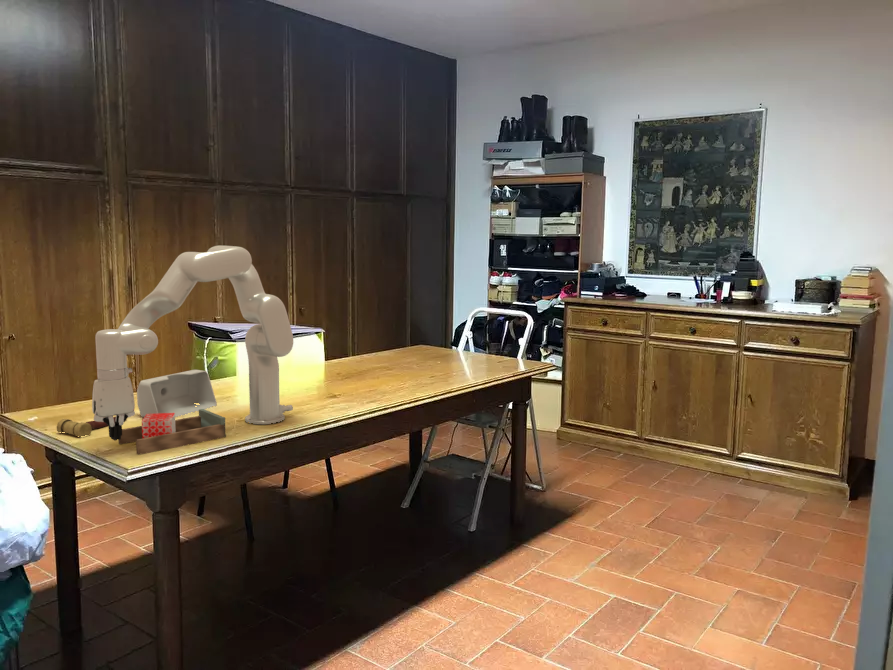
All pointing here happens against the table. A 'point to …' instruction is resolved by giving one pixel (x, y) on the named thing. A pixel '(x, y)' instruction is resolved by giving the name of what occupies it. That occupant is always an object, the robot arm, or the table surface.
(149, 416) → the red patterned cube
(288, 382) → the table surface
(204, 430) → the crate bay
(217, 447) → the table surface
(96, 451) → the table surface
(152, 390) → the grey open box shell
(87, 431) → the gavel
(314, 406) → the table surface
